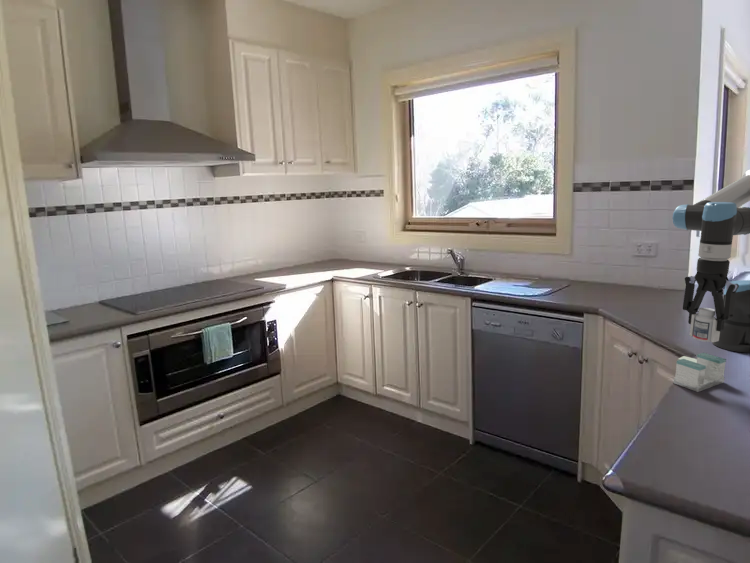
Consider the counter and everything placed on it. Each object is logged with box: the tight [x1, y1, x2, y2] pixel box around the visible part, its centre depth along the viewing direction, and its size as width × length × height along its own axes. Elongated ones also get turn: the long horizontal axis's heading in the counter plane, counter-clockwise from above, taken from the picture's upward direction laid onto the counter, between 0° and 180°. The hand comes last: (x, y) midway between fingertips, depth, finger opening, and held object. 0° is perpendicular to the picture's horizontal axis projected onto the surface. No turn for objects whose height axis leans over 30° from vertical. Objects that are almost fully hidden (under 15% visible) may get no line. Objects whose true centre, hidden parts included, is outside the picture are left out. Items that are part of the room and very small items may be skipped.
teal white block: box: [673, 352, 727, 393], centre depth 152 cm, size 13×7×7 cm, turn 118°
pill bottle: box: [692, 307, 716, 343], centre depth 149 cm, size 5×5×9 cm
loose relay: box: [677, 355, 697, 363], centre depth 160 cm, size 4×5×4 cm
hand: (703, 338), depth 149 cm, fingers closed on pill bottle, 5 cm apart
